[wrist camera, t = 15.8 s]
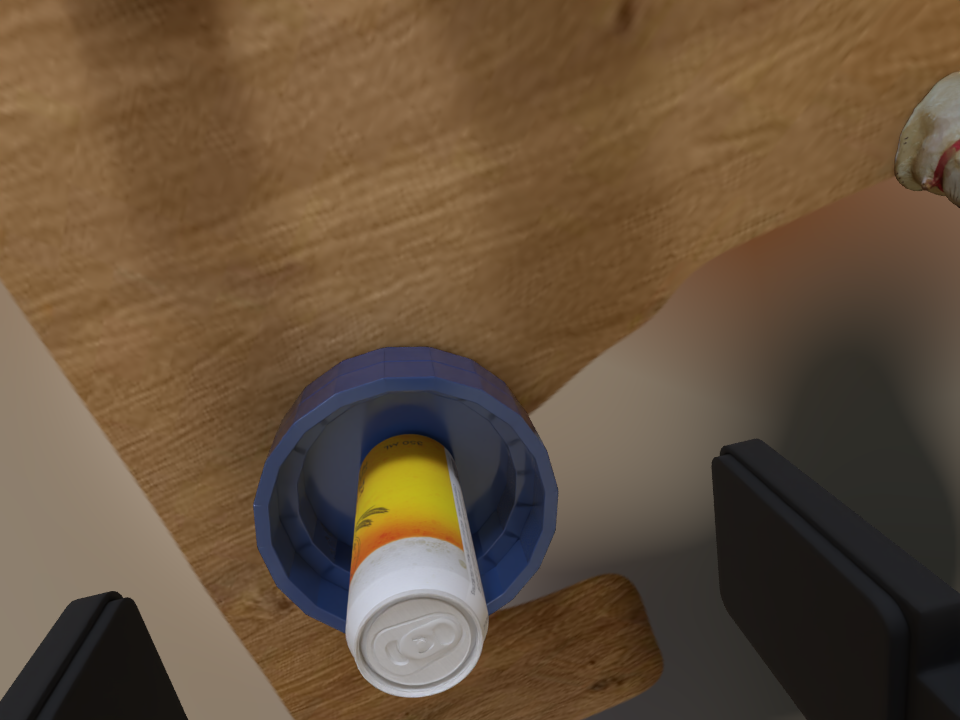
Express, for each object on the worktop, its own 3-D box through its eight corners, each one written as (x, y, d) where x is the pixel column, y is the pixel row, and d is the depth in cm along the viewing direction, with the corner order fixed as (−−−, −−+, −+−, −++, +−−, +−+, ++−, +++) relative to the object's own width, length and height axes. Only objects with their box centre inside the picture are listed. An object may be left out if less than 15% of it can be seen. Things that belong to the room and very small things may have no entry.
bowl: (313, 309, 37) (300, 338, 31) (571, 386, 40) (601, 424, 35) (245, 548, 41) (222, 612, 35) (485, 597, 45) (499, 662, 39)
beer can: (342, 453, 39) (316, 624, 25) (432, 412, 39) (458, 561, 25) (385, 528, 41) (383, 726, 27) (470, 490, 41) (514, 668, 27)
